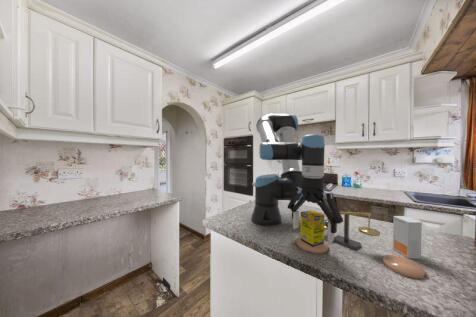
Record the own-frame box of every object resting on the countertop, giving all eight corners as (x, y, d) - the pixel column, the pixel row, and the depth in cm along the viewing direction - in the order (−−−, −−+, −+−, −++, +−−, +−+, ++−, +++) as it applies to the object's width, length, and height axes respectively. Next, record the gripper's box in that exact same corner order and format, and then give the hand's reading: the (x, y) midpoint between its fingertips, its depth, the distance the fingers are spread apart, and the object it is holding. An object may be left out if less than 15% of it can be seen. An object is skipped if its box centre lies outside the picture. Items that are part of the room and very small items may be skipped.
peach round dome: (290, 243, 65) (290, 240, 65) (306, 235, 72) (306, 232, 71) (318, 257, 56) (318, 254, 56) (334, 247, 63) (334, 243, 63)
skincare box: (392, 248, 62) (392, 215, 61) (404, 248, 62) (405, 215, 61) (408, 258, 56) (409, 222, 55) (421, 259, 56) (422, 222, 55)
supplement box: (313, 247, 60) (313, 216, 60) (300, 240, 65) (300, 211, 65) (324, 243, 63) (325, 213, 62) (310, 236, 68) (311, 209, 68)
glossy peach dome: (378, 265, 52) (378, 261, 52) (387, 255, 58) (387, 251, 58) (422, 283, 45) (422, 278, 45) (427, 269, 50) (427, 265, 50)
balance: (316, 235, 72) (317, 203, 71) (324, 231, 75) (324, 201, 75) (376, 259, 55) (377, 217, 55) (382, 252, 59) (382, 213, 59)
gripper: (279, 174, 71) (278, 225, 72) (345, 182, 51) (344, 252, 51) (290, 173, 76) (290, 221, 76) (355, 180, 56) (354, 245, 56)
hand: (311, 234), depth 64 cm, fingers open, 13 cm apart
